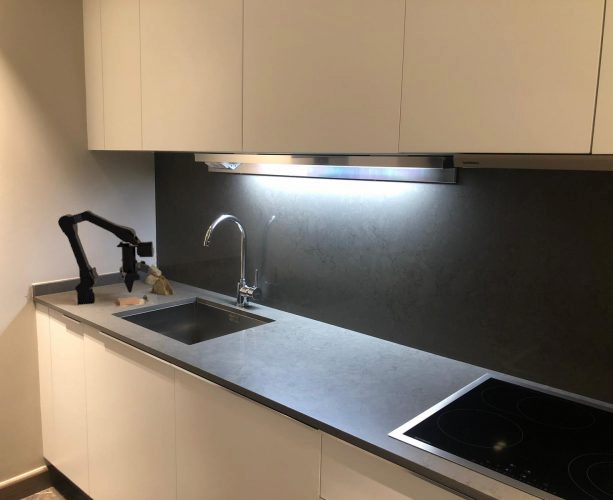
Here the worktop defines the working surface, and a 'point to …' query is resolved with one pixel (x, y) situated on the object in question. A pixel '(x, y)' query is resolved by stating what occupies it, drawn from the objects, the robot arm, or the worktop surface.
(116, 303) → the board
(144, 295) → the turner
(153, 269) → the beige lumpy chunk
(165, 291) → the rock
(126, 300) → the picture frame
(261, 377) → the worktop surface
